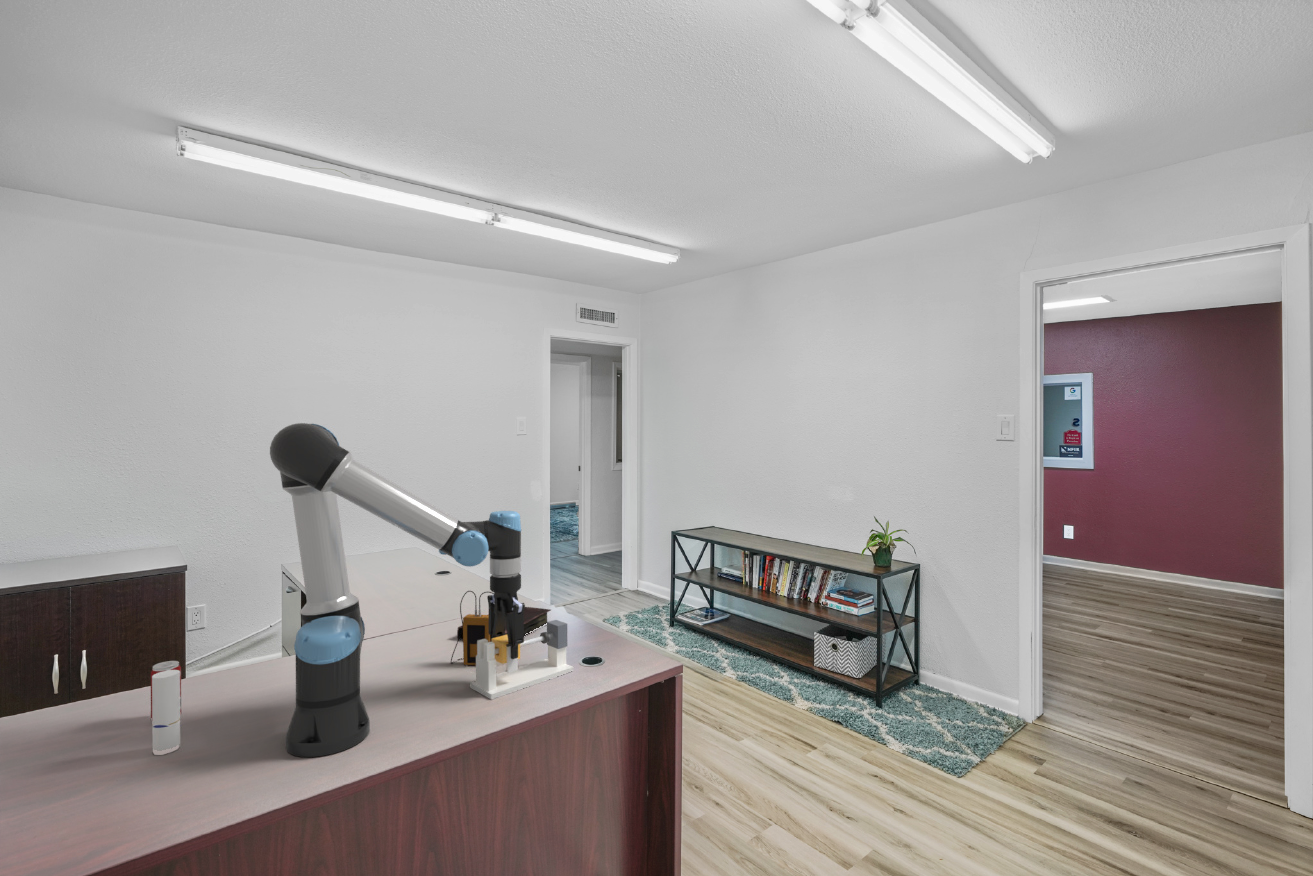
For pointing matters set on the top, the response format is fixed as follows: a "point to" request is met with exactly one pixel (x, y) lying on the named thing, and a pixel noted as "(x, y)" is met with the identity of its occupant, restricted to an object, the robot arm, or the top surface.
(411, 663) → the top surface
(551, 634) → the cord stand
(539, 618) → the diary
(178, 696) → the tube
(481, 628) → the multimeter
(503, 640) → the cube with square hole
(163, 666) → the soda can
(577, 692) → the top surface
